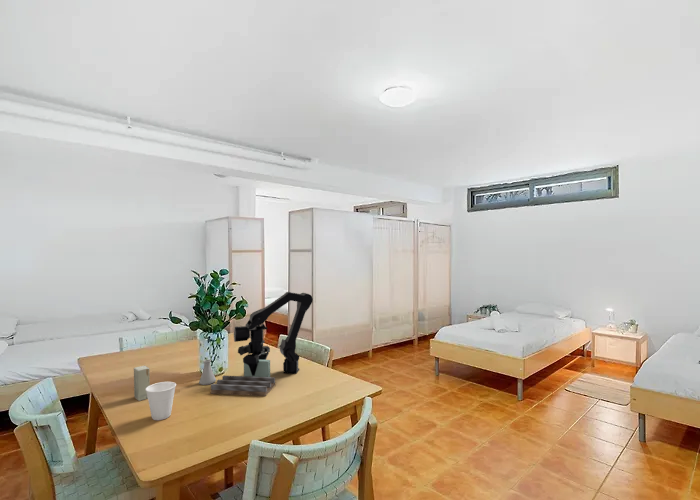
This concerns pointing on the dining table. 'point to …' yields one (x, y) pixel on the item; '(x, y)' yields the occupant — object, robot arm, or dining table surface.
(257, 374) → the door panel
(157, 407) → the cup
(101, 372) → the dining table surface
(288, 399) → the dining table surface
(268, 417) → the dining table surface
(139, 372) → the skincare box
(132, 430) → the dining table surface
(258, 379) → the track base
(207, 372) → the flask
